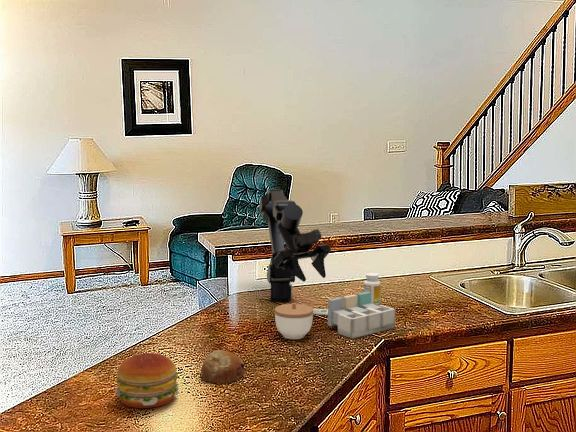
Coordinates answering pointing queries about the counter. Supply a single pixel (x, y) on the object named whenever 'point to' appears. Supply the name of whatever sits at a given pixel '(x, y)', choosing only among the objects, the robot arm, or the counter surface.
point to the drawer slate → (336, 311)
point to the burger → (146, 380)
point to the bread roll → (222, 367)
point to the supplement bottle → (373, 287)
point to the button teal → (366, 301)
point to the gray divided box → (366, 322)
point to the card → (320, 311)
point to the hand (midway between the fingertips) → (314, 279)
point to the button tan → (352, 304)
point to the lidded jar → (293, 320)
